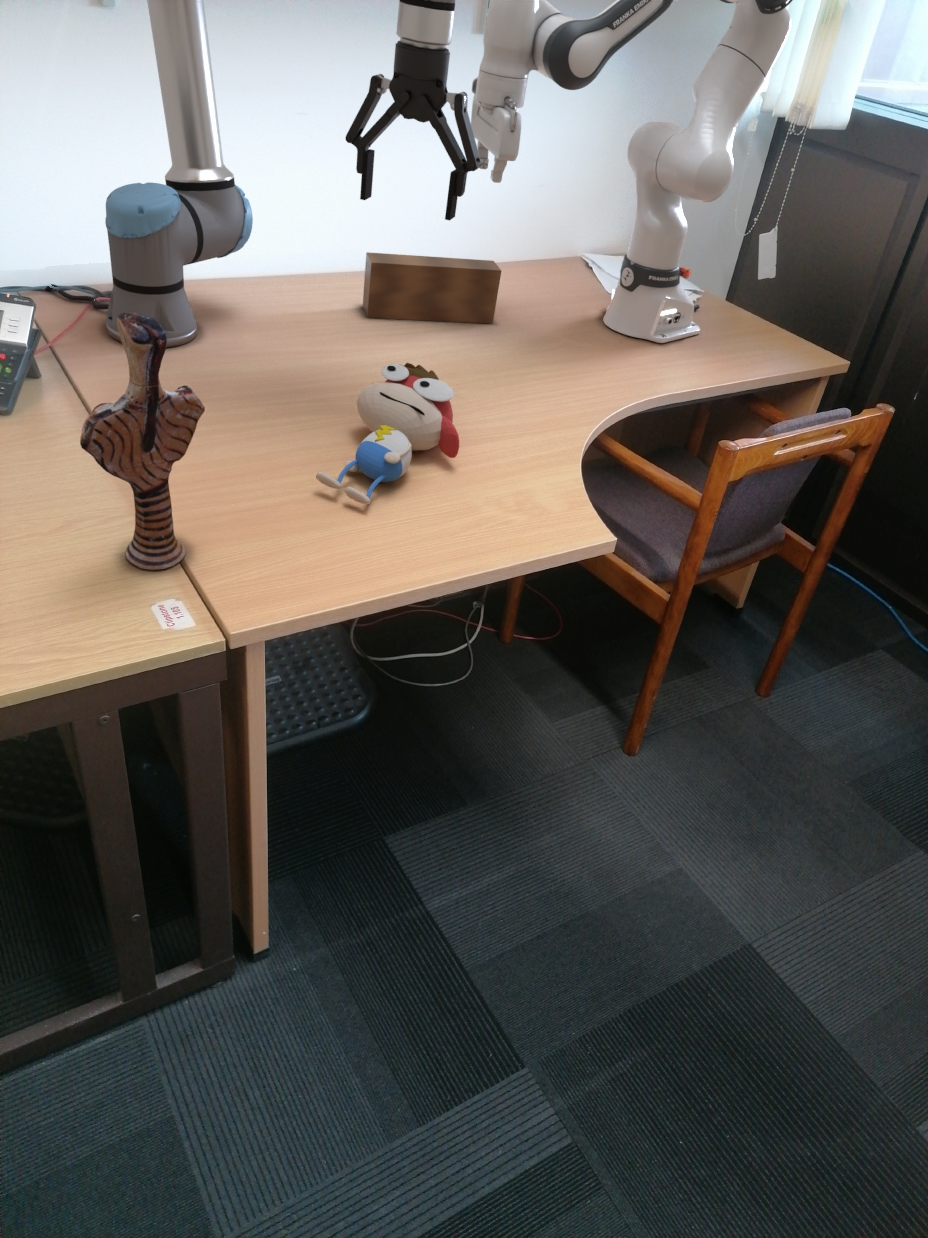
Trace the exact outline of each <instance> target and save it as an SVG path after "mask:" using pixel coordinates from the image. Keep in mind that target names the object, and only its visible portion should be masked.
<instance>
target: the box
mask: <svg viewBox="0 0 928 1238" xmlns="http://www.w3.org/2000/svg"><path fill="white" fill-rule="evenodd" d="M364 266H365V267H364V282H363V294H362V295H363V296H362V309H363V311H364V314H365V316H366V318H367V319H381V320H382V319H383V320H407V321H429V322H449V323H450V322H451V323H454V322H455V323H469V324H470V323H473V324H494V319H495V313H496V308H497V300H498V294H499V289H500V283H501V277H502V269H501V268H500V267H499V266H498V263H496V262H495V260H491V259H490V260H489V259H473V258H472V259H471V258H460V257H459V258H457V257H445V256H427V255H414V254H397V253H383V252H369V251H367V252H366V253H365V265H364Z"/></svg>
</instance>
